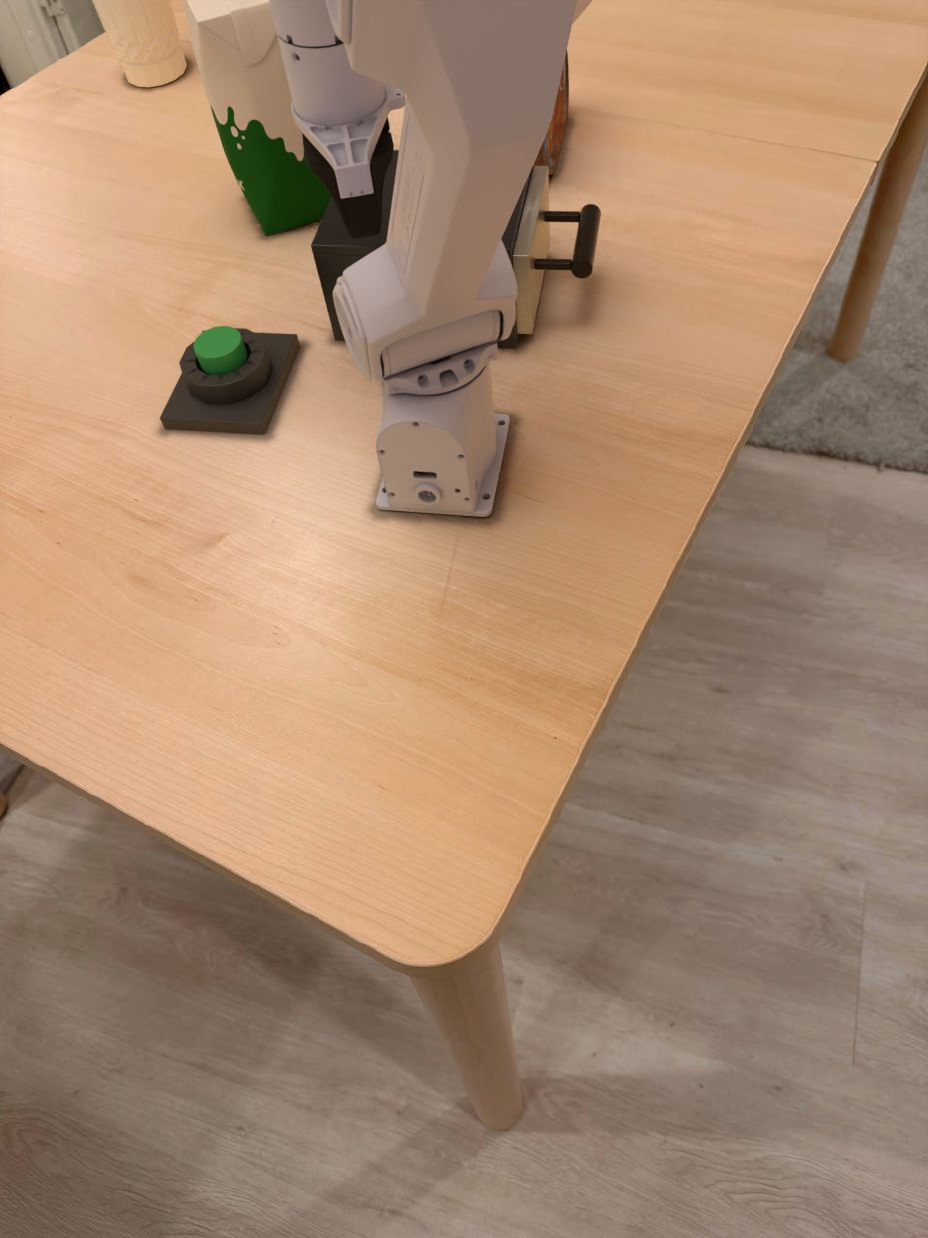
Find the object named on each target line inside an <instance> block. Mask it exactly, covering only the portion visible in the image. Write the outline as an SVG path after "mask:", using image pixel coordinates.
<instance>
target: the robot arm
mask: <svg viewBox="0 0 928 1238" xmlns="http://www.w3.org/2000/svg"><path fill="white" fill-rule="evenodd" d="M592 1H593V0H269V3H270V7H271V11H272V15H273V20H274V24H275V28H276V32H277V36H278V41H279V45H280V49H281V54H282V58H283V63H284V67H285V71H286V75H287V80H288V84H289V88H290V93H291V97H292V102H291V111H292V115H293V119H294V122H295V124H296V126H297V127H298V128H299V130H300V131H301V132H302V137H303V147H304V155H305V159H306V163H307V165H308V167H309V168H310V170H311V172H312V173H313V174H314V175H315V176H316V177H317V178H318V179H319V180H320V181H321V182H322V183H323V185H324V186H325V187H326V189H327V190H328V192H329V193H330V195H331V197H332V199H333V201H334V203H335V205H336V207H337V209H338V212H339V214H340V216H341V219H342V221H343V223H344V226H345V228H346V230H347V232H348V233H349V235H350V237H351V238H352V239H356V238H362V237H368V236H373V235H379V234H380V230H381V222H382V195H383V185H384V180H385V176H386V172H387V169H388V167H389V164H390V162H391V160H392V156H393V150H395V145H394V141H393V136H392V132H391V127H390V121H389V117H388V116H389V114H390V112H391V111H394V110H399V109H402V108H404V110H403V118H402V124H401V125H402V126H401V130H400V131H401V132H400V138H399V146H398V150H399V153H398V161H397V168H396V175H395V183H394V190H393V197H392V205H391V212H390V220H389V227H388V234H387V242H386V243H385V244H384V245H382V246H381V247H379V248H378V249H376V250H375V251H373V252H372V253H370V254H368V255H367V256H365V257H364V258H362V259H360V260H359V261H357V262H356V263H354V264H353V265H351V266H350V267H348V268H347V269H345V270H344V271H343V276H341V277H339V278H338V279H337V284H336V285H335V287H334V290H333V299H334V305H335V309H336V313H337V317H338V320H339V323H340V327H341V330H342V333H343V336H344V339H345V341H344V342H345V344H346V347H347V350H348V353H349V355H350V358H351V360H352V363H353V365H354V367H355V368H356V370H357V372H358V374H359V375H360V376H361V378H364V379H365V380H368V382H370V383H372V384H376V383H378V384H379V389H380V393H381V402H382V406H381V407H382V410H381V417H380V423H379V427H378V431H377V433H376V438H375V451H376V456H377V460H378V463H379V469H380V472H381V476H382V479H381V482H380V485H379V488H378V492H377V495H376V499H375V505H376V508H377V509H378V510H380V511H381V510H383V511H395V512H407V513H408V512H409V513H424V514H437V515H449V516H450V515H451V516H466V517H481V518H486V517H489V516H490V515H491V514H492V512H493V506H494V503H495V497H496V492H497V487H498V484H499V483H498V482H499V478H500V477H499V476H500V472H501V467H502V463H503V457H504V452H505V448H506V443H507V437H508V433H509V429H510V423H511V419H510V416H509V414H507V413H500V412H495V406H494V395H493V393H494V392H493V385H492V383H493V382H492V372H491V362H493V361H495V360H497V359H499V351H498V347H497V341H501V340H505V339H507V338H508V337H509V336H510V334H511V331H512V327H513V325H514V323H515V317H516V308H515V300H516V298H517V296H518V293H517V290H518V286H517V282H516V278H515V274H514V271H513V268H512V265H511V262H510V259H509V256H508V254H507V251H506V249H505V246H504V244H503V242H502V240H501V238H502V236H503V234H504V231H505V229H506V227H507V224H508V222H509V220H510V217H511V215H512V213H513V211H514V208H515V206H516V204H517V201H518V199H519V197H520V194H521V192H522V190H523V187H524V185H525V183H526V180H527V178H528V176H529V173H530V171H531V169H532V166H533V164H534V162H535V160H536V157H537V155H538V153H539V150H540V148H541V146H542V143H543V141H544V139H545V136H546V134H547V132H548V129H549V125H550V122H551V119H552V116H553V112H554V107H555V103H556V98H557V94H558V89H559V84H560V79H561V75H562V70H563V65H564V60H565V56H566V51H567V52H568V45H569V41H570V37H571V32H572V28H573V24H574V23H575V22H576V21H577V20H578V18H580V16H581V15H582V14H583V13H584V12H585V11H586V9H587V8H588V7H589V6H590V5H591V3H592Z"/></svg>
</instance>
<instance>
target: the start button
mask: <svg viewBox="0 0 928 1238" xmlns="http://www.w3.org/2000/svg"><path fill="white" fill-rule="evenodd" d="M235 328H236V327H232V326H228V325H218V326H213V327H211V328H208V329H205V330H203V331H204V332H203V333H202V332H201V333H200V334H199V335H197V337H196V338H195V340H194V341H195V342H194V341H193V342H194V351H195V353H196V356H197V358H198V361H199V363H200V365H201V368H202V369H203V371H205V372H206V373H208V374H210V375H224V374H228V373H231V372H234V371H236V370H237V369H239V368H240V367H241V366H243V365H244V364H245V362H246V360H247V356H248V355H247V351H246V348H245V345H244V342H243V339H242V337H241V334H240V333H239V331H238V330H236V329H235Z"/></svg>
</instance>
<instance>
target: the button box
mask: <svg viewBox="0 0 928 1238" xmlns="http://www.w3.org/2000/svg"><path fill="white" fill-rule="evenodd" d="M234 328H235V329H236V330H238V331H239V333H240V334H241V337H242V339H243V342H244V345H245V348H246V351H247V355H248V356H247V360H246V362H245V364H244V365H243V366H241V367H240V368H239V369H237V370H236V371H234V372H231V373H228V374H224V375H210V374H208V373H206V372H205V371H203V369H202V368H201V365H200V363H199V361H198V358H197V356H196V353H195V351H194V342H195V340H194V341H193V342H191V343H190V344H189V345H188V346H187V347H186V348H185V350H184V352H183V354H182V356H181V357H180V360H179V362H178V363H179V368H180V371H181V374H180V375H179V378H178V380H177V381H176V383H175V385H174V388H173V390H172V392H171V394H170V396H169V398H168V400H167V402H166V404H165V406H164V408H163V411H162V412H161V414H160V416H159V421H161V422H160V423H161V424H162V426H163V428H164V430H176V431H192V432H206V433H207V432H209V433H225V434H226V433H227V434H240V435H241V434H242V435H243V434H245V435H259V436H265V435H266V432H267V431H268V427H269V425H270V423H271V419H272V417H273V415H274V412H275V410H276V408H277V406H278V402H279V400H280V397H281V395H282V392H283V390H284V388H285V385H286V382H287V380H288V377H289V375H290V372H291V370H292V368H293V365H294V362H295V360H296V358H297V355H298V352H299V350H300V347H301V342H300V341H299V337H298V334H297V333H282V332H281V333H280V332H279V333H277V332H276V333H275V332H254V331H252V330H250V329H248V328H243V327H242V328H241V327H240V328H239V327H234ZM204 331H205V330H202V331H201V333H203V332H204Z"/></svg>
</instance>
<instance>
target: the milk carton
mask: <svg viewBox="0 0 928 1238" xmlns="http://www.w3.org/2000/svg"><path fill="white" fill-rule="evenodd" d="M182 3H183V9H184V13H185V18H186V22H187V26H188V31H189V36H190V40H191V46H192V50H193V53H194V57H195V61H196V65H197V68H198V71H199V76H200V79H201V82H202V85H203V88H204V93H205V95H206V98H207V101H208V105H209V107H210V111H211V115H212V117H213V121H214V123H215V127H216V130H217V133H218V136H219V139H220V143H221V145H222V146H221V147H222V149H223V152H224V155H225V157H226V160H227V162H228V164H229V167H230V168H231V171H232V173H233V176H234V178H235V181H236V182H237V185H238V186H239V188H240V190H241V192H242V194H243V196H244V198H245V199H246V202H247V203H248V205H249V208H250V209H251V211H252V213H253V215H254V217H255V218H256V221H257V222H258V225H259V226H260V228H261V230H262V232H263V234H264V236H265V237H269V236H272V235H276V234H279V233H283V232H286V231H289V230H293V229H296V228H300V227H302V226H306V225H309V224H312V223H315V222H319V221H321V220H322V218H323V216H324V213H325V211H326V209H327V206H328V204H329V202H330V199H331V195H330V193H329V192H328V190H327V189H326V187H325V186H324V185H323V183H322V182H321V181H320V180H319V179H318V178H317V177H316V176H315V175H314V174H313V173H312V172H311V170H310V168H309V167H308V165H307V163H306V159H305V155H304V147H303V137H302V132H301V131H300V130H299V128H298V127H297V126H296V124H295V122H294V119H293V115H292V111H291V102H292V97H291V93H290V88H289V84H288V80H287V75H286V71H285V67H284V63H283V58H282V54H281V49H280V45H279V41H278V36H277V32H276V28H275V24H274V20H273V15H272V11H271V7H270V3H269V0H182Z"/></svg>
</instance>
